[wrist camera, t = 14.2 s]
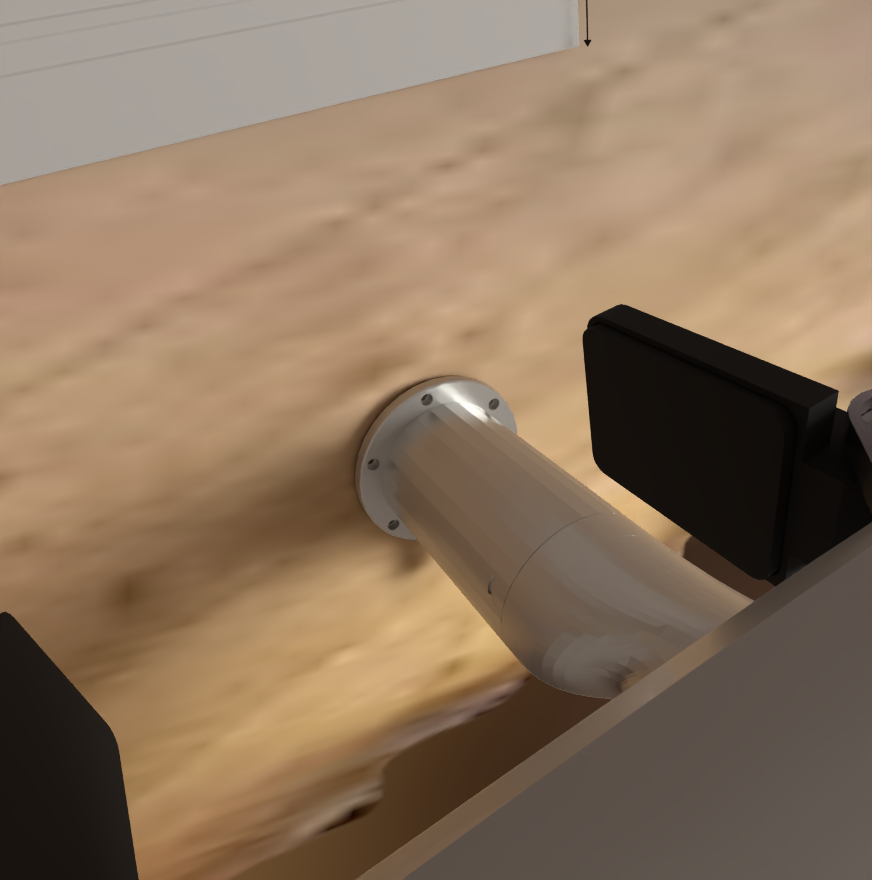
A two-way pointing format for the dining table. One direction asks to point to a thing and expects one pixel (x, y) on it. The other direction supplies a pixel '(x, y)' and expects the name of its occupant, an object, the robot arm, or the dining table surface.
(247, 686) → the dining table surface
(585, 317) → the dining table surface
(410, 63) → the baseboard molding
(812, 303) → the dining table surface
